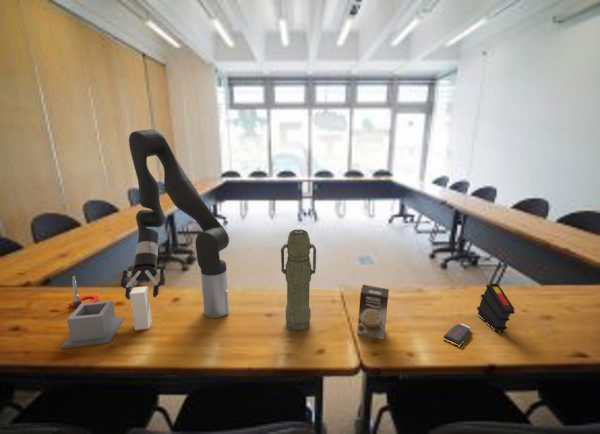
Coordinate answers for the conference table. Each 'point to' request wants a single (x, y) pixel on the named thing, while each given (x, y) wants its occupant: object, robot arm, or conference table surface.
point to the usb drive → (458, 333)
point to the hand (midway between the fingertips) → (141, 297)
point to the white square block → (140, 308)
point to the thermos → (298, 279)
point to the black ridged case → (495, 307)
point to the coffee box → (372, 311)
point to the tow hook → (78, 300)
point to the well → (92, 324)
